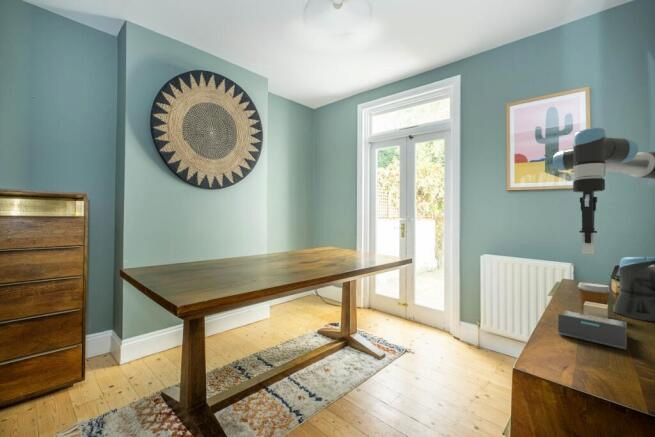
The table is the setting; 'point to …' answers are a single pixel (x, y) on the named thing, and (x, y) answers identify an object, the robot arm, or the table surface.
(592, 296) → the disposable coffee cup
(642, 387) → the table surface
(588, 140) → the robot arm
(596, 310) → the oak block
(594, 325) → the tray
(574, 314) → the box
